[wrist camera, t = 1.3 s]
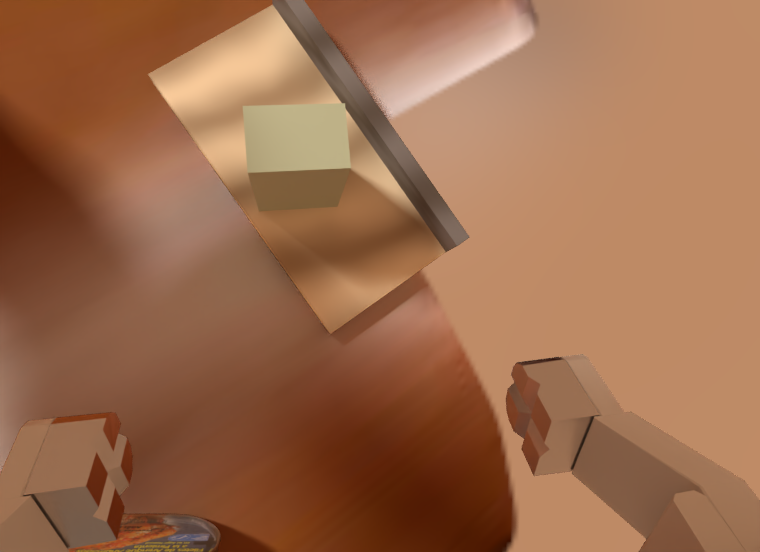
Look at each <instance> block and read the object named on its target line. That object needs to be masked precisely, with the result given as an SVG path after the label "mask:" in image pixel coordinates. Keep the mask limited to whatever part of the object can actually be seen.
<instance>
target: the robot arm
mask: <svg viewBox="0 0 760 552" xmlns="http://www.w3.org/2000/svg"><path fill="white" fill-rule="evenodd" d="M511 376H512V378H513V380H514V384H512V385H511V386H510V387H509V388H508V390H507V395H506V409H507V414H508V418H509V421H510V424H511V426H512V428H513V431H514V432H515V433H517V434H518V435H520V436H521V437H522V438H524V442H523V445H522V451H523V453H524V455H525V458H526V460H527V462H528V464H529V466H530V468H531V471H532V473H533V475H534V476H538V475H546V474H554V473H562V472H570V471H572V474H573V475H574V476H575V477H576V478H578V479H579V480H580V481H581V482H582V483H583V484H584V485H586V486H587V487H588V488H589V489H590V490H591V491H592V492H594V493H595V494H596V495H597V496H598V497H599V498H600V499H601V500H603V501H604V502H605V503H606V504H607V505H608V506H609V507H611V508H612V509H613V510H614V511H615V512H616V513H617V514H619V515H620V516H621V517H622V518H623V519H624V520H626V521H627V522H628V523H629V524H630V525H631V526H632V527H633V528H635V529H636V530H637V531H638V532H639V533H641V534H642V535H643V536H644V537H645V538H646V541H645V542H644V544H643V546H642V547H641V549H640V551H639V552H760V500H759V498H758V497H757V496H756V495H755V493H754V492H753V491H752V489H751V488H750V487H749V486H748V484H747V483H746V482H745V481H744V480H743V479H741V478H739V477H738V476H736V475H734V474H733V473H731V472H730V471H728V470H726V469H725V468H723V467H721V466H720V465H718V464H716V463H715V462H713V461H711V460H710V459H708V458H706V457H705V456H703V455H702V454H700V453H698V452H697V451H695V450H693V449H692V448H690V447H688V446H687V445H685V444H683V443H682V442H680V441H679V440H677V439H675V438H674V437H672V436H670V435H669V434H667V433H665V432H664V431H662V430H660V429H659V428H657V427H655V426H654V425H652V424H651V423H649V422H647V421H646V420H644V419H642V418H641V417H639V416H637V415H636V414H634V413H632V412H624V410H623V409H622V408H621V406H620V405H619V403H618V402H617V400H616V399H615V397H614V396H613V394H612V393H611V391H610V390H609V388H608V387H607V385H606V384H605V382H604V381H603V380H602V378H601V377H600V375H599V374H598V372H597V371H596V369H595V368H594V366H593V365H592V363H591V362H590V360H589V359H588V358H587V357H586V356H584V355H583V354H581V355H573V356H565V357H560V358H559V357H554V358H547V359H539V360H532V361H524V362H517V363H516V364H515V365H514V366H513V370H512V373H511ZM120 425H121V423H120V421H119V419H118V417H117V415H116V413H112V412H110V413H99V414H89V415H79V416H69V417H58V418H51V419H41V420H32V421H27V422H26V423H25V424H24V425H23V427H22V428H21V429H20V431H19V433H18V435H17V438H16V440H15V442H14V444H13V446H12V449H11V451H10V453H9V455H8V458H7V460H6V462H5V464H4V467H3V469H2V471H1V473H0V552H69V550H68V549H71V548H76V547H82V546H87V545H93V544H99V543H104V542H110V541H115V540H117V538H118V534H119V529H120V525H121V521H122V516H123V512H124V507H125V506H124V504H123V502H122V500H121V498H120V495H121V494H122V493H123V492H124V491H125V489H126V488H127V487H128V486H129V485H130V480H131V475H132V458H133V456H132V451H131V446H130V443H129V441H128V438H127V437H125V436H123V435H121V434H119V433H118V432H119V428H120Z"/></svg>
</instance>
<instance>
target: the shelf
mask: <svg viewBox="0 0 760 552" xmlns="http://www.w3.org/2000/svg"><path fill="white" fill-rule="evenodd" d="M148 75H149V77H150V78H151V80H152V82H153V84H154V85H155V86H156V88H157V89H158V91H159V92H160V94H161V95H162V96H163V98H164V99H165V101H166V102H167V104H168V105H169V106H170V108H171V109H172V111H173V112H174V114H175V115H176V116H177V118H178V119H179V121H180V122H181V123H182V125H183V126H184V128H185V129H186V131H187V132H188V133H189V135H190V136H191V138H192V139H193V141H194V142H195V143H196V145H197V146H198V148H199V149H200V151H201V152H202V153H203V155H204V156H205V158H206V159H207V160H208V162H209V163H210V165H211V166H212V168H213V169H214V170H215V172H216V173H217V175H218V176H219V178H220V179H221V180H222V182H223V183H224V185H225V186H226V188H227V189H228V190H229V192H230V193H231V195H232V196H233V197H234V199H235V200H236V202H237V203H238V205H239V206H240V207H241V209H242V210H243V212H244V213H245V215H246V216H247V217H248V219H249V220H250V222H251V223H252V225H253V226H254V227H255V229H256V230H257V232H258V233H259V234H260V236H261V237H262V239H263V240H264V242H265V243H266V244H267V246H268V247H269V249H270V250H271V252H272V253H273V254H274V256H275V257H276V259H277V260H278V262H279V263H280V264H281V266H282V267H283V269H284V270H285V272H286V273H287V274H288V276H289V277H290V279H291V280H292V281H293V283H294V284H295V286H296V287H297V289H298V290H299V291H300V293H301V294H302V296H303V297H304V299H305V300H306V301H307V303H308V304H309V306H310V307H311V309H312V310H313V311H314V313H315V314H316V316H317V317H318V318H319V320H320V321H321V323H322V324H323V326H324V327H325V328H326V330H327V331H328V333H329V334H332V333H333V332H334V331H336V330H337V329H339V328H340V327H341V326H343V325H344V324H346V323H347V322H348V321H350V320H351V319H353V318H354V317H355V316H357V315H358V314H360V313H361V312H362V311H364V310H365V309H367V308H368V307H369V306H371V305H372V304H374V303H375V302H376V301H378V300H379V299H381V298H382V297H383V296H385V295H386V294H388V293H389V292H390V291H392V290H393V289H395V288H396V287H397V286H399V285H400V284H402V283H403V282H404V281H406V280H407V279H409V278H410V277H411V276H413V275H414V274H416V273H417V272H418V271H420V270H421V269H423V268H424V267H425V266H427V265H428V264H430V263H431V262H432V261H434V260H435V259H437V258H438V257H439V256H441V255H442V254H444V253H445V252H447V251H449V250H451V249H452V248H454V247H456V246H458V245H459V244H461V243H462V242H463V241H465V240H466V239H468V238H469V236H468V235H467V233H466V231H465V230H464V228H463V227H462V226H461V224H460V223H459V221H458V220H457V218H456V217H455V216H454V214H453V213H452V211H451V210H450V208H449V207H448V206H447V204H446V203H445V201H444V200H443V198H442V197H441V196H440V194H439V193H438V191H437V190H436V188H435V187H434V186H433V184H432V183H431V181H430V180H429V178H428V177H427V176H426V174H425V173H424V171H423V170H422V168H421V167H420V166H419V164H418V163H417V161H416V160H415V158H414V157H413V155H411V153H410V151H409V150H408V148H407V147H406V146H405V144H404V143H403V141H402V140H401V138H400V137H399V136H398V134H397V133H396V131H395V130H394V128H393V127H392V125H391V124H390V123H389V121H388V120H387V118H386V117H385V115H384V114H383V113H382V111H381V110H380V108H379V107H378V105H377V104H376V103H375V101H374V100H373V98H372V97H371V95H370V94H369V93H368V91H367V90H366V88H365V87H364V85H363V84H362V83H361V81H360V80H359V78H358V77H357V75H356V74H355V73H354V71H353V70H352V68H351V67H350V65H349V64H348V63H347V61H346V60H345V58H344V57H343V55H342V54H341V52H340V51H339V50H338V48H337V47H336V45H335V44H334V42H333V41H332V40H331V38H330V37H329V35H328V34H327V32H326V31H325V30H324V28H323V27H322V25H321V24H320V22H319V21H318V20H317V18H316V17H315V15H314V14H313V12H312V11H311V10H310V8H309V7H308V5H307V4H306V2H305V1H304V0H273V5H271V6H270V7H268V8H266V9H264V10H262V11H261V12H259V13H257V14H255V15H253V16H252V17H250V18H248V19H246V20H245V21H243V22H241V23H239V24H237V25H236V26H234V27H232V28H230V29H228V30H227V31H225V32H223V33H221V34H219V35H218V36H216V37H214V38H212V39H210V40H209V41H207V42H205V43H203V44H201V45H200V46H198V47H196V48H194V49H193V50H191V51H189V52H187V53H185V54H184V55H182V56H180V57H178V58H176V59H175V60H173V61H171V62H169V63H167V64H166V65H164V66H162V67H160V68H158V69H157V70H155V71H153V72H151V73H149V74H148ZM336 103H345V109H346V120H347V130H348V141H349V152H350V163H351V170H350V172H349V175H348V178H347V181H346V184H345V187H344V190H343V193H342V195H341V198H340V201H339V204H338V207H324V208H307V209H290V210H273V211H259V210H258V206H257V203H256V199H255V196H254V193H253V189H252V186H251V183H250V179H249V176H248V171H247V158H246V145H245V131H244V118H243V106H259V105H297V104H336Z"/></svg>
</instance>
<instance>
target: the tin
mask: <svg viewBox="0 0 760 552" xmlns="http://www.w3.org/2000/svg"><path fill="white" fill-rule="evenodd" d="M220 540H221V535H220V532H219V530H218V528H217V527H216V526H215V525H213V524H212V523H211V522H209V521H207V520H204V519H202V518H199V517H195V516H191V515H183V514H123V516H122V521H121V525H120V529H119V534H118V538H117V540H115V541H110V542H104V543H99V544H93V545H87V546H82V547H76V548H71V549H68V550H69V552H218V546H219V543H220Z"/></svg>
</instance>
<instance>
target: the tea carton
mask: <svg viewBox="0 0 760 552" xmlns="http://www.w3.org/2000/svg"><path fill="white" fill-rule="evenodd" d="M243 118H244V131H245V145H246V158H247V171H248V176H249V179H250V183H251V186H252V189H253V193H254V196H255V199H256V203H257V206H258V210H259V211H273V210H290V209H307V208H324V207H338V204H339V201H340V198H341V195H342V193H343V190H344V187H345V184H346V181H347V178H348V175H349V172H350V170H351V163H350V152H349V141H348V130H347V120H346V109H345V103H336V104H297V105H259V106H243Z"/></svg>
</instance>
